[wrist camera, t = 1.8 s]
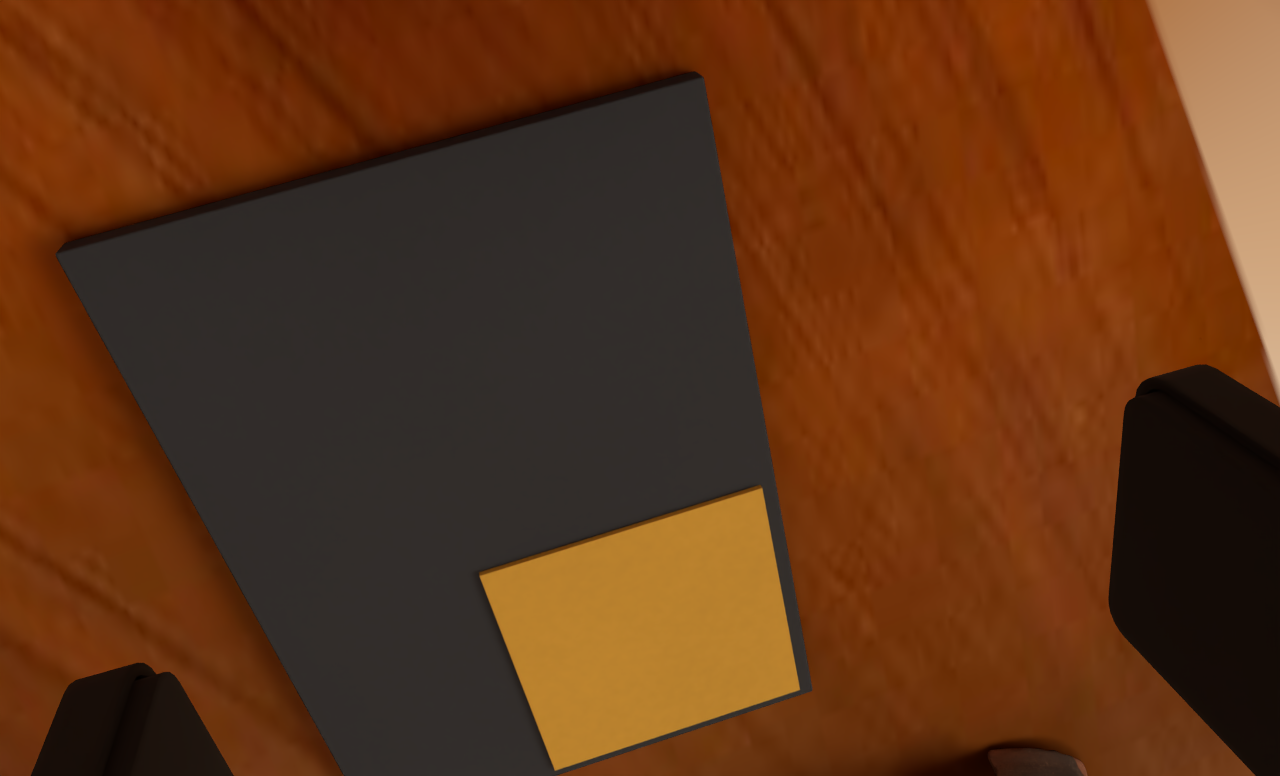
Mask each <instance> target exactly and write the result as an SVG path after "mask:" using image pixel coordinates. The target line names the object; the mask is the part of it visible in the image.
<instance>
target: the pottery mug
mask: <svg viewBox="0 0 1280 776" xmlns="http://www.w3.org/2000/svg"><path fill="white" fill-rule="evenodd" d="M988 759H989V762H990V764H991V766H992V768H993V770H994V772H995V774H996V776H1088V775H1087V772H1086V769H1085V766H1084V764H1083V763H1082V762H1081V761H1080V760H1077V759H1076V758H1073V757H1072V756H1069V755H1065V754H1061V753H1059V752H1057V751H1054V750H1049V751H1047V750H1042V749H1038V748H1035V749H1032V748H1007V749H996V750H990V751H989V752H988Z"/></svg>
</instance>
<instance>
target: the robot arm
mask: <svg viewBox="0 0 1280 776" xmlns="http://www.w3.org/2000/svg"><path fill="white" fill-rule="evenodd" d="M1109 608H1110V612H1111V615H1112V617H1113V620H1114V622H1115V624H1116V626H1117V627H1118V629H1119V631H1120V632H1121V633H1122V634H1123V636H1124V637H1125V638H1126V639H1127V640H1128V641H1129V642H1130V643H1131V644H1132V645H1133V646H1134V647H1135V649H1136V650H1137V651H1138V652H1139V653H1140V654H1141V655H1142V656H1143V657H1144V658H1145V659H1146V660H1147V661H1148V662H1149V663H1150V664H1151V665H1152V667H1153V668H1154V669H1155V670H1156V671H1157V672H1158V673H1159V674H1160V675H1161V676H1162V677H1163V678H1164V679H1165V680H1166V681H1167V682H1168V683H1169V684H1170V686H1171V687H1172V688H1173V689H1174V690H1175V691H1176V692H1177V693H1178V694H1179V695H1180V696H1181V697H1182V698H1183V699H1184V700H1185V701H1186V702H1187V704H1188V705H1189V706H1190V707H1191V708H1192V709H1193V710H1194V711H1195V712H1196V713H1197V714H1198V715H1199V716H1200V717H1201V718H1202V719H1203V720H1204V722H1205V723H1206V724H1207V725H1208V726H1209V727H1210V728H1211V729H1212V730H1213V731H1214V732H1215V733H1216V734H1217V735H1218V736H1219V737H1220V738H1221V739H1222V741H1223V742H1224V743H1225V744H1226V745H1227V746H1228V747H1229V748H1230V749H1231V750H1232V751H1233V752H1234V753H1235V754H1236V755H1237V756H1238V757H1239V759H1240V760H1241V761H1242V762H1243V763H1244V764H1245V765H1246V766H1247V767H1248V768H1249V769H1250V770H1251V771H1252V772H1253V773H1254V774H1255V775H1256V776H1280V407H1278V406H1276V405H1275V404H1273V403H1272V402H1270V401H1268V400H1267V399H1265V398H1263V397H1262V396H1260V395H1258V394H1257V393H1255V392H1254V391H1252V390H1250V389H1249V388H1247V387H1245V386H1244V385H1242V384H1240V383H1239V382H1237V381H1236V380H1234V379H1232V378H1231V377H1229V376H1227V375H1226V374H1224V373H1222V372H1221V371H1219V370H1218V369H1216V368H1213V367H1211V366H1208V365H1195V366H1191V367H1187V368H1184V369H1180V370H1177V371H1173V372H1170V373H1166V374H1163V375H1159V376H1155V377H1152V378H1149V379H1147V380H1145V381H1143V382H1142V383H1141V384H1140V386H1139V387H1138V389H1137V392H1136V396H1135V398H1133V399H1131V400H1129V401H1128V403H1127V404H1126V406H1125V411H1124V419H1123V431H1122V443H1121V455H1120V466H1119V478H1118V490H1117V502H1116V514H1115V526H1114V538H1113V550H1112V562H1111V574H1110V586H1109ZM31 776H234V775H233V774H232V772H231V770H230V769H229V767H228V765H227V763H226V762H225V760H224V758H223V756H222V755H221V753H220V751H219V750H218V748H217V746H216V744H215V743H214V741H213V739H212V737H211V736H210V734H209V732H208V731H207V729H206V727H205V725H204V724H203V722H202V720H201V718H200V717H199V715H198V713H197V712H196V710H195V708H194V706H193V705H192V703H191V701H190V699H189V698H188V696H187V694H186V693H185V691H184V689H183V687H182V686H181V684H180V682H179V681H178V679H177V678H176V677H175V675H173V674H172V673H170V672H163V673H160V674H156V673H155V672H154V671H153V669H152V668H151V667H149V666H148V665H146V664H145V663H135V664H132V665H128V666H124V667H121V668H117V669H114V670H110V671H107V672H103V673H100V674H96V675H93V676H89V677H85V678H82V679H78V680H76V681H74V682H73V683H71V684H70V685H69V686H68V688H67V689H66V691H65V693H64V694H63V697H62V699H61V702H60V704H59V707H58V709H57V712H56V714H55V717H54V719H53V722H52V724H51V727H50V729H49V732H48V734H47V737H46V739H45V742H44V744H43V747H42V749H41V752H40V754H39V757H38V759H37V762H36V764H35V767H34V769H33V772H32V774H31Z"/></svg>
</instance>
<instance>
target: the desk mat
mask: <svg viewBox="0 0 1280 776" xmlns="http://www.w3.org/2000/svg"><path fill="white" fill-rule="evenodd" d="M55 255H56V257H57V259H58V261H59V263H60V265H61V266H62V268H63V270H64V272H65V274H66V275H67V277H68V279H69V281H70V283H71V284H72V286H73V288H74V290H75V292H76V293H77V295H78V297H79V299H80V301H81V302H82V304H83V306H84V308H85V310H86V311H87V313H88V315H89V317H90V319H91V320H92V322H93V324H94V326H95V328H96V329H97V331H98V333H99V335H100V337H101V339H102V340H103V342H104V344H105V346H106V348H107V349H108V351H109V353H110V355H111V357H112V358H113V360H114V362H115V364H116V366H117V367H118V369H119V371H120V373H121V375H122V376H123V378H124V380H125V382H126V384H127V385H128V387H129V389H130V391H131V393H132V394H133V396H134V398H135V400H136V402H137V403H138V405H139V407H140V409H141V411H142V412H143V414H144V416H145V418H146V420H147V421H148V423H149V425H150V427H151V429H152V431H153V432H154V434H155V436H156V438H157V440H158V441H159V443H160V445H161V447H162V449H163V450H164V452H165V454H166V456H167V458H168V459H169V461H170V463H171V465H172V467H173V468H174V470H175V472H176V474H177V476H178V477H179V479H180V481H181V483H182V485H183V486H184V488H185V490H186V492H187V494H188V495H189V497H190V499H191V501H192V503H193V504H194V506H195V508H196V510H197V512H198V513H199V515H200V517H201V519H202V521H203V523H204V524H205V526H206V528H207V530H208V532H209V533H210V535H211V537H212V539H213V541H214V542H215V544H216V546H217V548H218V550H219V551H220V553H221V555H222V557H223V559H224V560H225V562H226V564H227V566H228V568H229V569H230V571H231V573H232V575H233V577H234V578H235V580H236V582H237V584H238V586H239V587H240V589H241V591H242V593H243V595H244V596H245V598H246V600H247V602H248V604H249V605H250V607H251V609H252V611H253V613H254V615H255V616H256V618H257V620H258V622H259V624H260V625H261V627H262V629H263V631H264V633H265V634H266V636H267V638H268V640H269V642H270V643H271V645H272V647H273V649H274V651H275V652H276V654H277V656H278V658H279V660H280V661H281V663H282V665H283V667H284V669H285V670H286V672H287V674H288V676H289V678H290V679H291V681H292V683H293V685H294V687H295V688H296V690H297V692H298V694H299V696H300V697H301V699H302V701H303V703H304V705H305V707H306V708H307V710H308V712H309V714H310V716H311V717H312V719H313V721H314V723H315V725H316V726H317V728H318V730H319V732H320V734H321V735H322V737H323V739H324V741H325V743H326V744H327V746H328V748H329V750H330V752H331V753H332V755H333V757H334V759H335V761H336V762H337V764H338V766H339V768H340V770H341V771H342V773H343V775H344V776H556V775H559V774H562V773H565V772H568V771H571V770H574V769H577V768H581V767H584V766H587V765H590V764H593V763H596V762H599V761H602V760H605V759H608V758H611V757H614V756H617V755H620V754H623V753H626V752H629V751H632V750H635V749H638V748H641V747H644V746H647V745H650V744H653V743H656V742H659V741H662V740H665V739H668V738H671V737H674V736H677V735H680V734H683V733H686V732H689V731H692V730H695V729H698V728H701V727H704V726H708V725H711V724H714V723H717V722H720V721H723V720H726V719H729V718H732V717H735V716H738V715H741V714H744V713H747V712H750V711H753V710H756V709H759V708H762V707H765V706H768V705H771V704H774V703H777V702H780V701H783V700H786V699H789V698H792V697H795V696H798V695H801V694H804V693H807V692H810V691H812V684H811V679H810V673H809V667H808V662H807V656H806V650H805V645H804V639H803V634H802V628H801V622H800V617H799V611H798V605H797V600H796V594H795V589H794V583H793V577H792V572H791V566H790V561H789V555H788V549H787V544H786V538H785V532H784V527H783V521H782V516H781V510H780V504H779V499H778V493H777V487H776V482H775V476H774V471H773V465H772V459H771V454H770V448H769V442H768V437H767V431H766V426H765V420H764V414H763V409H762V403H761V397H760V392H759V386H758V381H757V375H756V369H755V364H754V358H753V352H752V347H751V341H750V336H749V330H748V324H747V319H746V313H745V307H744V302H743V296H742V291H741V285H740V279H739V274H738V268H737V263H736V257H735V251H734V246H733V240H732V234H731V229H730V223H729V218H728V212H727V206H726V201H725V195H724V189H723V184H722V178H721V173H720V167H719V161H718V156H717V150H716V144H715V139H714V133H713V128H712V122H711V116H710V111H709V105H708V99H707V94H706V88H705V83H704V78H703V76H701V75H700V74H698V73H697V72H690V73H687V74H683V75H679V76H676V77H672V78H668V79H665V80H661V81H657V82H654V83H650V84H646V85H643V86H639V87H635V88H632V89H628V90H624V91H621V92H617V93H613V94H610V95H606V96H602V97H599V98H595V99H591V100H588V101H584V102H580V103H577V104H573V105H569V106H566V107H562V108H558V109H555V110H551V111H547V112H544V113H540V114H536V115H533V116H529V117H525V118H522V119H518V120H514V121H511V122H507V123H503V124H500V125H496V126H492V127H489V128H485V129H481V130H478V131H474V132H470V133H467V134H463V135H459V136H456V137H452V138H448V139H445V140H441V141H437V142H434V143H430V144H426V145H423V146H419V147H415V148H412V149H408V150H404V151H401V152H397V153H393V154H390V155H386V156H382V157H379V158H375V159H371V160H368V161H364V162H360V163H357V164H353V165H349V166H346V167H342V168H338V169H335V170H331V171H327V172H324V173H320V174H316V175H313V176H309V177H305V178H302V179H298V180H294V181H291V182H287V183H283V184H280V185H276V186H272V187H269V188H265V189H261V190H258V191H254V192H250V193H247V194H243V195H239V196H236V197H232V198H228V199H225V200H221V201H217V202H214V203H210V204H206V205H203V206H199V207H195V208H192V209H188V210H185V211H181V212H177V213H174V214H170V215H166V216H163V217H159V218H155V219H152V220H148V221H144V222H141V223H137V224H133V225H130V226H126V227H122V228H119V229H115V230H111V231H108V232H104V233H100V234H97V235H93V236H89V237H86V238H82V239H78V240H75V241H71V242H67V243H65V244H64V245H63V246H62V247H61V248H60V249H59V250H58V251H57V252H56V254H55Z"/></svg>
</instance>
